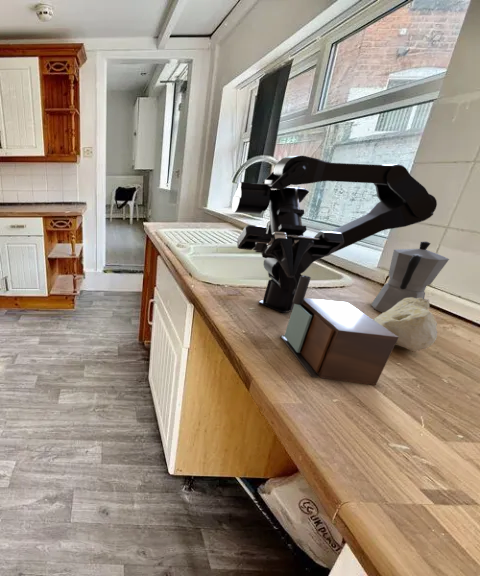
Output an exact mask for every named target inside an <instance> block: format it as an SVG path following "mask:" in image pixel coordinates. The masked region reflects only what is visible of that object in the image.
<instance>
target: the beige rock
mask: <svg viewBox="0 0 480 576" xmlns="http://www.w3.org/2000/svg"><path fill="white" fill-rule="evenodd" d="M429 308H430V299H429V298H424V300H423V298H417V299H416V298H413V297H409V298H404V299H403V300H401V301H399V302H398V303H397V304H396V305H394V306H393V307H392V308H391V309H389V310H387V311H386V312H384V313H382V312H381V313H380V314H378V315H377V316H376V317H375V318H372V319H373V320H374V321H376V322H377V323H379V324H380V325H382V326H383V327H385V328H386V329H387V330H389V331H390V332H392V333H393V334H395V335H396V336H398V337H399V338H398V340H397V342H396V344H395V346H398V347H402V348H404V349H407V350H408V351H410V352H414V353H415V352H417V351H420V350H427V349H428V348H430V347H431V346H433V344H435V342H436V340H437V339H438V329H437V327H438V322H437V320H436V318H435V316H434V313H432V312H431V311H430V310H429Z"/></svg>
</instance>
